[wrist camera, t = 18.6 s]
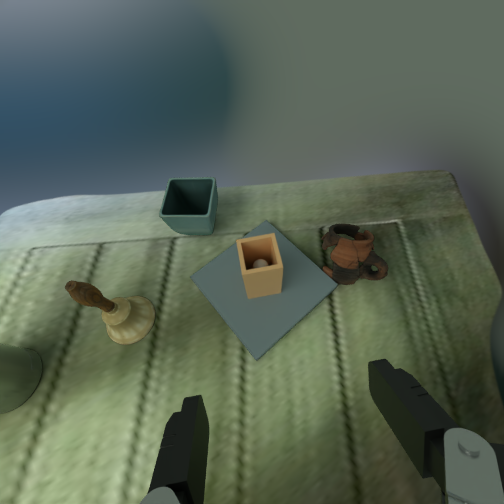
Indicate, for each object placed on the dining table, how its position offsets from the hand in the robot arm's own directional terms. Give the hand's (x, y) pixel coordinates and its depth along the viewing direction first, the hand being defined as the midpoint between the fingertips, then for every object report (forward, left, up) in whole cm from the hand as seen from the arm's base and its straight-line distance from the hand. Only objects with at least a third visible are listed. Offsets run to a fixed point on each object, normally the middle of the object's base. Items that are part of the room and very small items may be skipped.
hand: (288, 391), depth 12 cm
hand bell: (-11, +24, -30) cm, 40 cm away
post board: (+10, +14, -29) cm, 34 cm away
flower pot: (+9, +32, -30) cm, 45 cm away
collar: (+10, +14, -28) cm, 33 cm away
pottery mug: (+24, +7, -30) cm, 38 cm away
